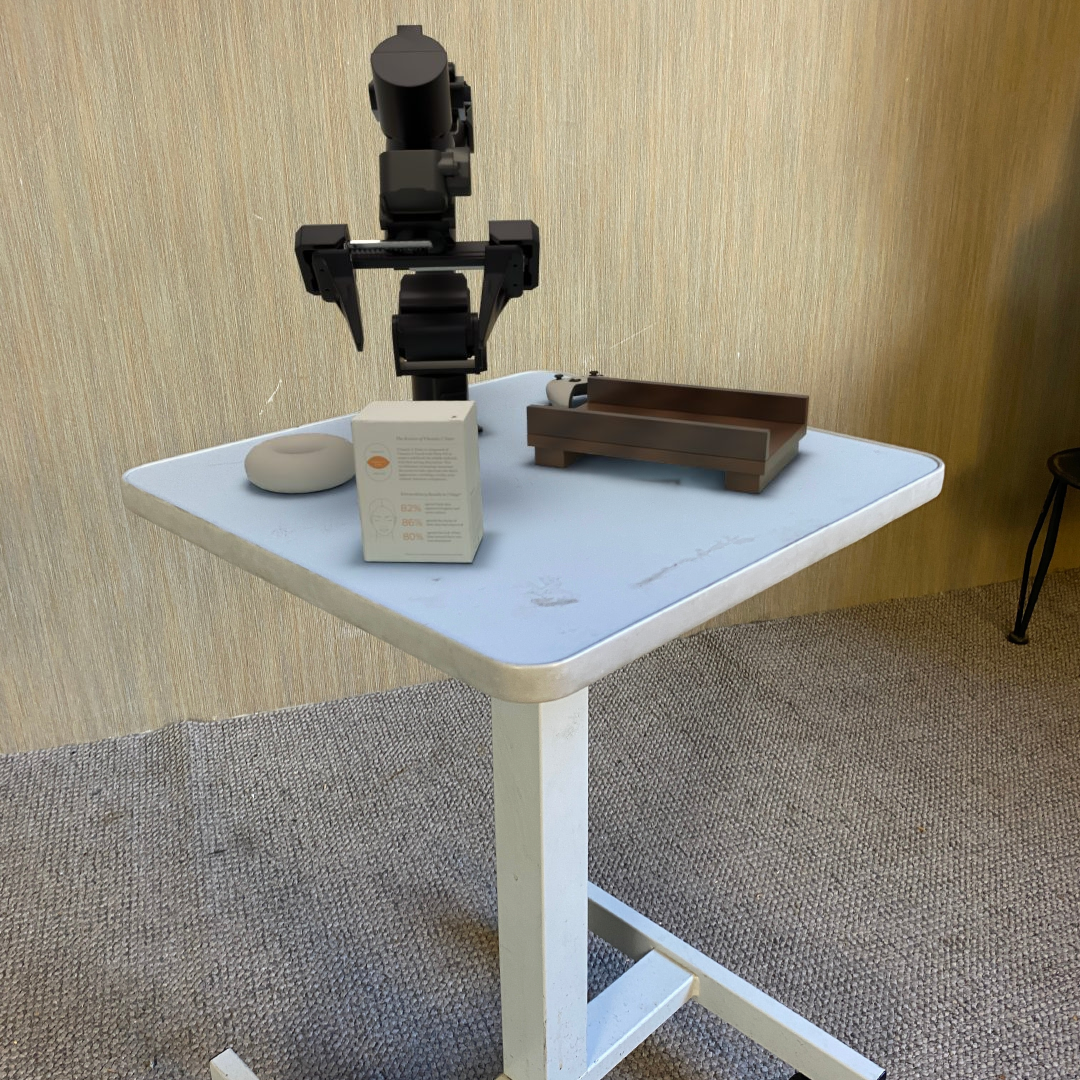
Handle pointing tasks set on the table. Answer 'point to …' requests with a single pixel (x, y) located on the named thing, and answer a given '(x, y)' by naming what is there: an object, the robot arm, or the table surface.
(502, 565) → the table surface
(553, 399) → the game controller
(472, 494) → the small box
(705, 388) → the tray
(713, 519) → the table surface
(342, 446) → the donut
